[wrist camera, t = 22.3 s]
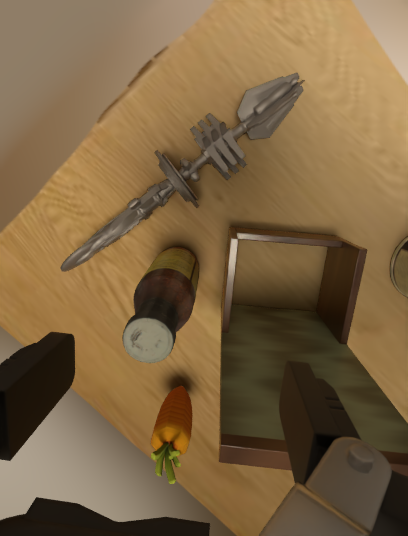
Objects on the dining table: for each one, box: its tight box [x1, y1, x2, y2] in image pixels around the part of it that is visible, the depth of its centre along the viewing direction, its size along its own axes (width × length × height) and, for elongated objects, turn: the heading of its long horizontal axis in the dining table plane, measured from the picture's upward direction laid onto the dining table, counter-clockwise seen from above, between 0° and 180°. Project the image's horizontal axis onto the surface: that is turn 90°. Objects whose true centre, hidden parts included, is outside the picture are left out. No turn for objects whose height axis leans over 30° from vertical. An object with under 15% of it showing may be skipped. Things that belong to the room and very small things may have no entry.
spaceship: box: [61, 73, 305, 271], centre depth 36 cm, size 8×35×8 cm
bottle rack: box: [219, 227, 408, 477], centre depth 30 cm, size 14×12×25 cm
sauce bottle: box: [123, 247, 199, 363], centre depth 33 cm, size 7×6×20 cm
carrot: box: [151, 386, 192, 484], centre depth 40 cm, size 5×5×15 cm
